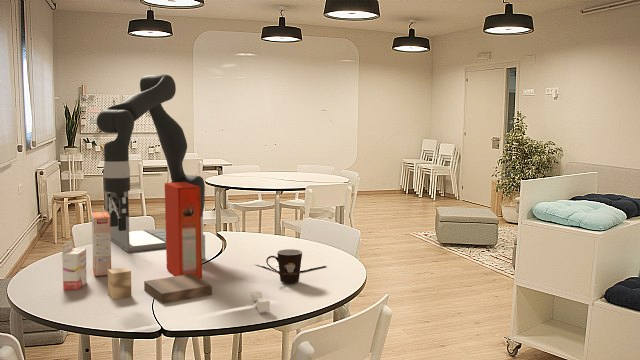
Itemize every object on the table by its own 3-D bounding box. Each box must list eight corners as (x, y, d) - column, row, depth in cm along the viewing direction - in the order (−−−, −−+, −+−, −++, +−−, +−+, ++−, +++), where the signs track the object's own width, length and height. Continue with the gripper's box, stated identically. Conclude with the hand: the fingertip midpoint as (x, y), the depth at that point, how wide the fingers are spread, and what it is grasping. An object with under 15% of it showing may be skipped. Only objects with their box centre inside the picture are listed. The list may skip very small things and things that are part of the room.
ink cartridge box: (78, 289, 177) (77, 244, 176) (62, 290, 177) (61, 244, 176) (87, 282, 186) (86, 239, 185) (72, 282, 186) (71, 239, 184)
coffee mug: (305, 278, 193) (306, 250, 192) (296, 285, 185) (296, 255, 184) (275, 275, 197) (275, 247, 196) (265, 281, 189) (265, 252, 188)
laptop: (188, 247, 242) (187, 182, 240) (126, 254, 227) (125, 185, 225) (162, 233, 271) (161, 176, 268) (105, 239, 256) (103, 178, 253)
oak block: (126, 291, 176) (125, 267, 175) (131, 296, 172) (130, 271, 171) (108, 294, 173) (107, 269, 172) (113, 299, 168) (112, 273, 168)
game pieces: (270, 311, 160) (270, 301, 159) (259, 313, 158) (259, 302, 158) (260, 299, 171) (260, 289, 170) (249, 300, 170) (249, 290, 169)
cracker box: (112, 275, 195) (111, 216, 193) (94, 277, 192) (92, 217, 190) (109, 266, 207) (108, 210, 205) (92, 267, 205) (90, 211, 203)
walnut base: (191, 282, 187) (191, 273, 187) (211, 294, 174) (211, 285, 174) (144, 290, 178) (144, 281, 177) (162, 303, 165) (161, 293, 165)
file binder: (178, 281, 188) (177, 187, 185) (165, 269, 203) (164, 182, 200) (202, 278, 192) (201, 186, 189) (187, 267, 207) (186, 181, 204)
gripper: (136, 177, 165) (137, 231, 167) (122, 173, 177) (123, 223, 178) (110, 178, 161) (112, 233, 162) (97, 174, 172) (99, 226, 174)
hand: (118, 228), depth 170 cm, fingers open, 8 cm apart
